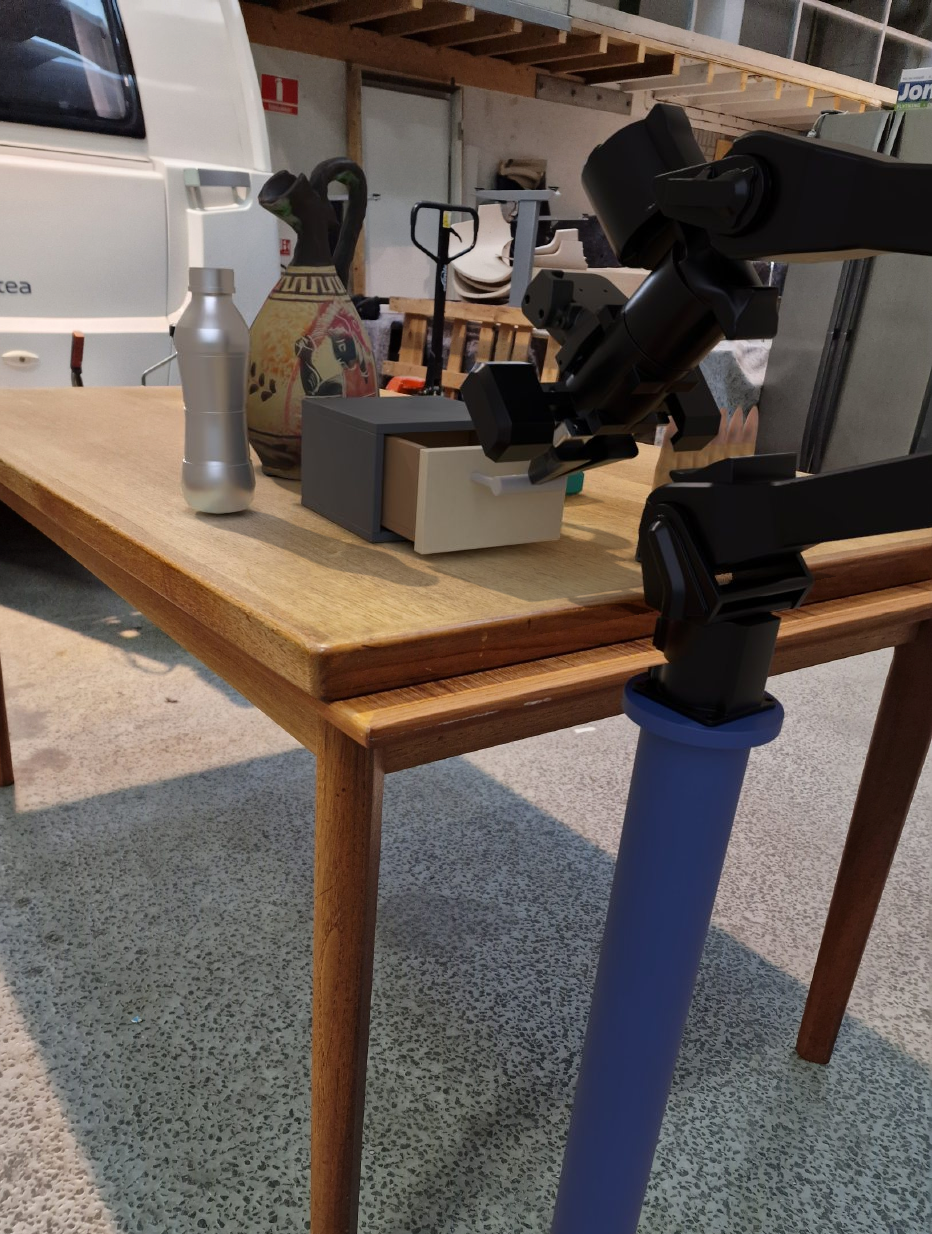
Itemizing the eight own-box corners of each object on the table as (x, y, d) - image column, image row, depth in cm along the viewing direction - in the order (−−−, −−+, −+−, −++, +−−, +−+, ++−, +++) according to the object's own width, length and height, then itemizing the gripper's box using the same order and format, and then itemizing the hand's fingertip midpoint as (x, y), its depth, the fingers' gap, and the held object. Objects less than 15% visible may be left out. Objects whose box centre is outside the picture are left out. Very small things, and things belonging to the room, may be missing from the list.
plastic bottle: (270, 514, 88) (269, 271, 79) (209, 524, 84) (199, 268, 75) (228, 500, 92) (222, 267, 83) (167, 510, 88) (154, 265, 79)
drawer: (594, 554, 77) (608, 454, 74) (452, 570, 71) (460, 463, 68) (472, 503, 91) (479, 418, 88) (344, 514, 85) (347, 422, 82)
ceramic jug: (294, 494, 96) (295, 141, 82) (207, 466, 106) (196, 148, 92) (416, 476, 106) (435, 161, 93) (327, 452, 116) (332, 165, 103)
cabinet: (515, 529, 87) (526, 418, 83) (371, 543, 80) (376, 423, 76) (432, 494, 98) (438, 395, 94) (300, 504, 92) (301, 398, 88)
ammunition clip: (649, 565, 78) (675, 411, 73) (633, 559, 79) (658, 407, 74) (741, 552, 83) (772, 406, 78) (724, 547, 84) (754, 403, 79)
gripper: (724, 233, 64) (593, 386, 78) (490, 215, 56) (390, 390, 69) (791, 373, 61) (644, 506, 75) (557, 376, 53) (438, 525, 67)
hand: (533, 479), depth 72 cm, fingers closed, pressing on drawer
